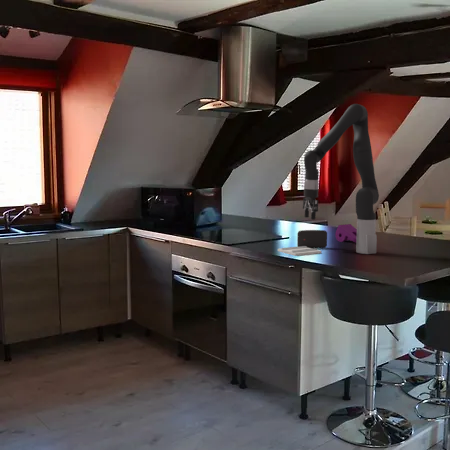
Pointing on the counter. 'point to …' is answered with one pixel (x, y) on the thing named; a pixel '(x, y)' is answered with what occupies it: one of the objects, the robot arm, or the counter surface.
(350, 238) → the mounting bracket
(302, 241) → the leaning round-cornered charcoal block
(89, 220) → the counter surface
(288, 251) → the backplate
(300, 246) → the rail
